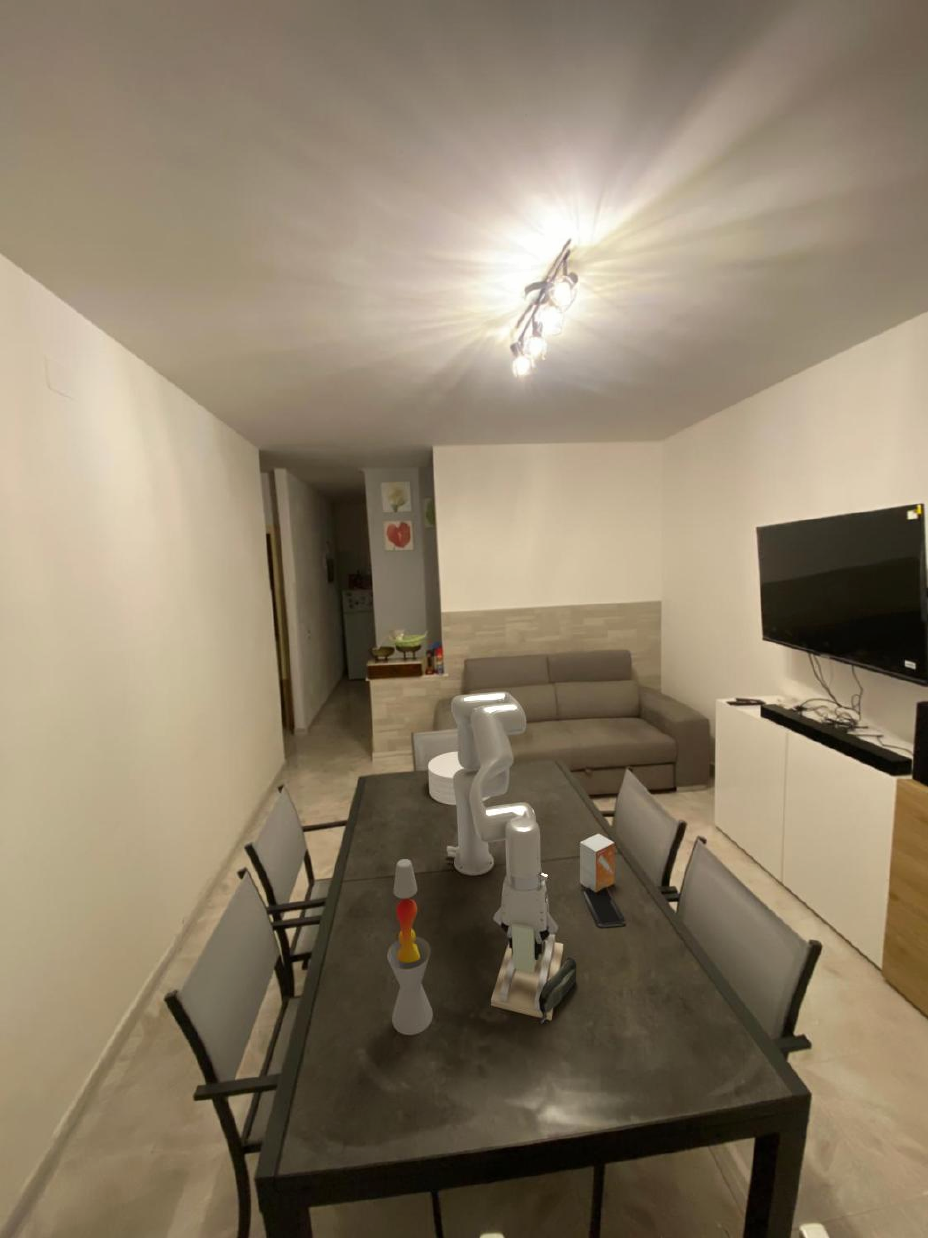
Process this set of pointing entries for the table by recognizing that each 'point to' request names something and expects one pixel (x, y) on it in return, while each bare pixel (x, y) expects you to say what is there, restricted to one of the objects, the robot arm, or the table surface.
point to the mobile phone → (557, 987)
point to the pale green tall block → (523, 947)
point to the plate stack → (444, 777)
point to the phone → (603, 908)
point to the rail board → (527, 980)
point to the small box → (597, 862)
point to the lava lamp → (409, 959)
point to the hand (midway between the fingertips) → (525, 952)
